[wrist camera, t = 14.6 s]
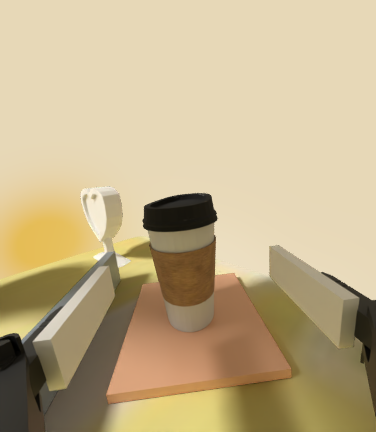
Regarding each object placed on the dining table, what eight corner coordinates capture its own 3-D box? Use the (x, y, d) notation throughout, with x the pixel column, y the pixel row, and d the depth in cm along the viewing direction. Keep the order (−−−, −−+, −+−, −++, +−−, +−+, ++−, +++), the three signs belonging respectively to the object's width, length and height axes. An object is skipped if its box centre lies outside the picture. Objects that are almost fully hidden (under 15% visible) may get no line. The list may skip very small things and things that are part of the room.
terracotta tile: (108, 403, 15) (105, 395, 15) (143, 289, 31) (142, 284, 30) (291, 377, 16) (291, 368, 15) (234, 278, 31) (234, 273, 31)
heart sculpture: (90, 255, 49) (75, 189, 45) (108, 248, 52) (95, 187, 48) (114, 272, 38) (96, 187, 34) (135, 262, 41) (121, 185, 38)
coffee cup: (233, 301, 24) (227, 191, 21) (206, 356, 17) (191, 204, 14) (181, 287, 29) (170, 194, 25) (143, 325, 22) (121, 204, 18)
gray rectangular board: (-27, 499, 11) (-66, 429, 10) (112, 280, 34) (106, 252, 33) (-2, 495, 11) (-37, 425, 10) (120, 279, 34) (114, 251, 33)
